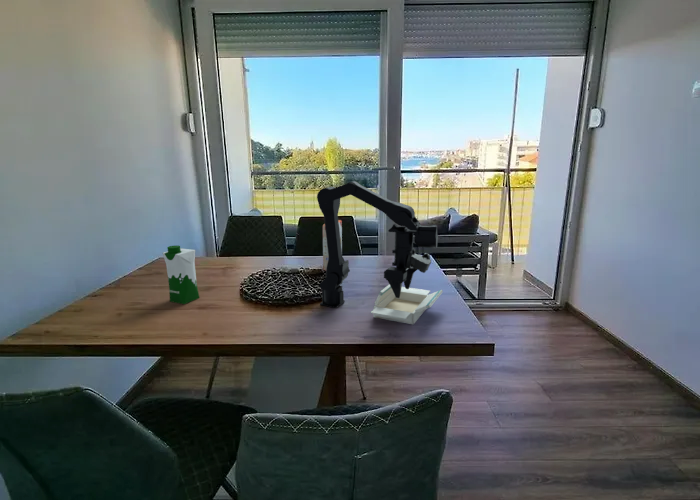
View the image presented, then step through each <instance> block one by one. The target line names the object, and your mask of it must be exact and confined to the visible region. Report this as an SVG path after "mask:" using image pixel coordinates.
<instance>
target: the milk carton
mask: <svg viewBox="0 0 700 500" xmlns="http://www.w3.org/2000/svg"><path fill="white" fill-rule="evenodd" d="M166 247H167V248H166V249H167V251H164V252H162V257H163V259H164V262H165V265H166V272H167V273H166V274H167V282H168V288H169V289H168V291H169V302H170V303H174V304H180V305H186V304H188V303H190V302H193V301H196V300H197V299H200V294H199V289H198V284H197V283H198V282H197V274H196V272H197V271H196V264H195V263H196V262H195V260H196V259H195V257H196V249H190V248H189V249H188V248H181V245H170V246H166Z"/></svg>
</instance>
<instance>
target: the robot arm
mask: <svg viewBox="0 0 700 500" xmlns="http://www.w3.org/2000/svg"><path fill="white" fill-rule="evenodd" d="M348 196H353V197H355V198H357V199H358V200H360V201H362V202H364V203H366V204H367V205H370V206H371V207H372V208H375V209H377V210H378V211H381V212H382V213H383V214H385V215H386V216H387V217H388V219H390V220H391V221H392V222H394V223H393V224H392V226H391V227H390V228H389V229H388V232H389V233H394V248H393V249H392V250H391V251H392V254H394V255H393V256H394V258H393V262H391V266H390V267H388V268H387V269H385V270H384V271H383V279H385V280H386V281H387V282H388V285H389V284H390V286H391V288H392V290H393V292H394V294H395V296H396V298H400V294H401V288H402V287H403V286H404V287H405V288H406V289H409V288H411V287H410V286H411V284H412V280H413V276H414V274H415V272H417V271H419V272H421V273H423V274H425V273H426V272H427V271H428V270H429V268H430V265H431V264H432V259H431V255H430V253H427V252H425V253H423V254H422V255H421V254H417V253H416V251H417V250H416V248H415V247H414V244H415V245H416V246H417V247H418V248H429V249H431V248H432V249H437V248H438V241H439V234H438V225H422V224H421V223H420V222H419V220H418V218H417V217H416V216H415V215H416V213H415V210H414V208H413V207H412V206H410V205H408V204H406V203H405V204H404V203H401V202H399V201H393V200H390V199H389V198H386V197H385V196H382V195H381V194H379V193H376V192H375V191H373V190H371V189H369V188H367V187H365V186H363V185H362V184H360V183H359V182H357V181H354V180H353V181H349V182H347V183H345V184H342V185H340V186H337V187H335V186H328V187H324V188H321V189H320V190H319V191H318V192H317V194H316V200H317V203H318V204H317V205H318V208H319V210H320V212H321V213H322V215H323V218H324V219H323V220H324V224H325V229H326V238H327V247H328V256H329V259H328V264H327V268H326V271H325V278H324V279H323V280H322V281H321V282H320V283H319V287H320V290H321V297H322V301H321V302H320V303H319V305H320V306H324V307H330V308H338V307H339V306H341V305H342V304H344V303H345V302H346V301H345V300H344V290H343V286H342V285H341V284H343V282H344V281H345V280H346V279H347V277H348V276H349V272H351V270H350V267H349V266H350V265H349V263H350V262H349V259H348V260H347V259H346V260H345V259H344V257H343V250H342V251H341V241H340V231H339V222H338V220H339V210H340V206H341V199H343V198H345V197H348Z"/></svg>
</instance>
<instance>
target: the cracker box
mask: <svg viewBox="0 0 700 500" xmlns="http://www.w3.org/2000/svg"><path fill="white" fill-rule="evenodd" d="M338 222H339V231H340V241H341V251H342V252H343V241H342V240H343V238H342V237H343V235H342V234H343V227H342V226H343V225H342V224H343V223H342V222H343V221H342V220H341V219H338ZM328 259H329V256H328V247H327V238H326V229H325V223H324V224H323V225H322V263H323V264H322V266H323V268H322V269H323V270H325V272H326V268H327V264H328Z"/></svg>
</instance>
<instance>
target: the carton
mask: <svg viewBox="0 0 700 500" xmlns="http://www.w3.org/2000/svg"><path fill="white" fill-rule="evenodd" d="M429 294H431V290H428V289H421V288H414V287H409V289H406V288H405V286H402V288H401V294H400V298H396V296H395V294H394V292H391V293H390V294H389V295H388V296H387V297H385V298H384V299H383V300H382V301H381V302H380V303H378V304H377V305H375V304H374V306H373V310H372V311H371V312H370V314H372V315H373V318H375V319H382V320H386V321H392V322H398V323H402V324H403V323H404V324H408V325H415V323H417V321H418V320H419V319H420V317H421V316H422V315H423V313H424V312H425V311H426V310H427V309H424V310H422V311H419V312H415V309H416V308H417V307H418V306H419V305H420V304H421V303H422V301H423V300H424V299H425V298H426V297H427V296H428V295H429Z"/></svg>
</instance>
